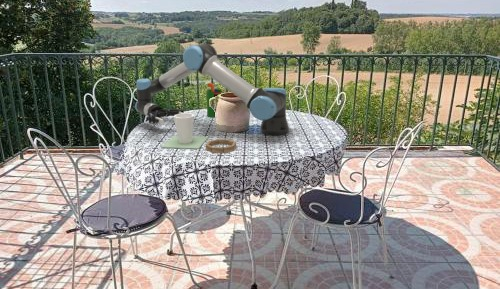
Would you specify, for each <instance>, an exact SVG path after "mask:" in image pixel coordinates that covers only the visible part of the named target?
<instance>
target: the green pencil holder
mask: <svg viewBox="0 0 500 289" xmlns="http://www.w3.org/2000/svg"><path fill="white" fill-rule="evenodd" d="M207 88H210V89H207V90H205V91H206V92H205V93H206V113H207V115H206V116H207V117H208V118H212V119H214V118H216V117H215V112H214V110H213V109H212V108H211V107H209V99H210V98H212V97H215V96H217V95H218V94H221V93H222V89H221V88H219V89H218V88H215V86H214V83H213V82H208V83H207Z"/></svg>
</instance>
